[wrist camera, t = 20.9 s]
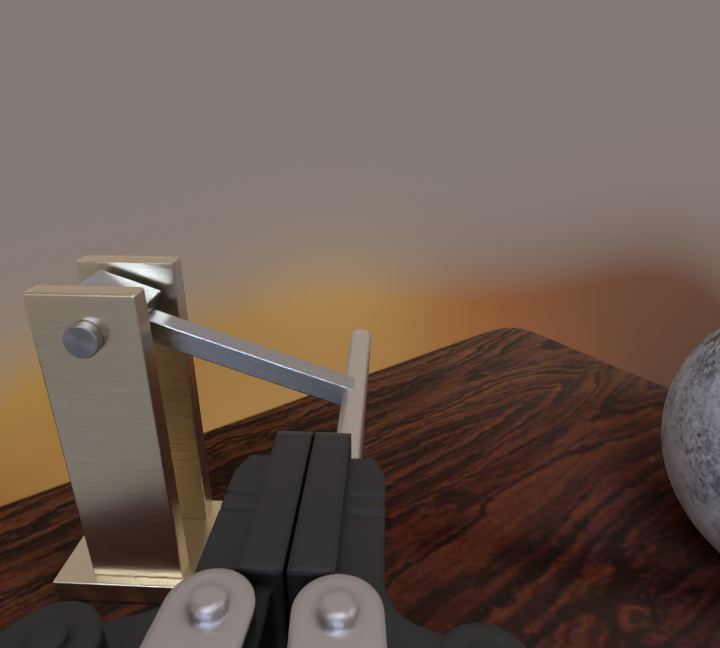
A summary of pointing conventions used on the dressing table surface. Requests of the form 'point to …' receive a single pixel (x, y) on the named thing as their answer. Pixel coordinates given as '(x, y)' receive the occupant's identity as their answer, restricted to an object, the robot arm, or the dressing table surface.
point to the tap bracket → (125, 431)
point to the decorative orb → (696, 437)
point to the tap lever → (264, 359)
